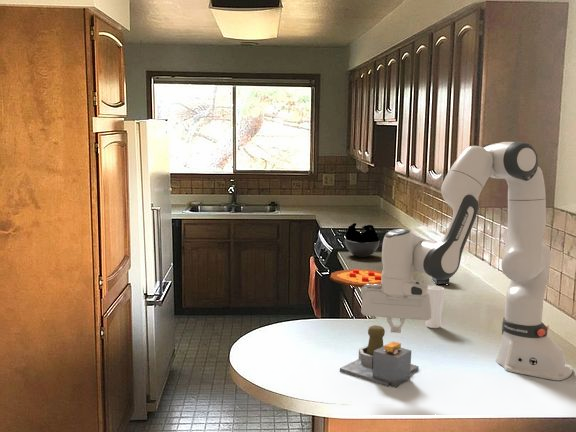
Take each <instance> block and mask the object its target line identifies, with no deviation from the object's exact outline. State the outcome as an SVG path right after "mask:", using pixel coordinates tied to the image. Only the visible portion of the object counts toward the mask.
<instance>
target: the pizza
mask: <svg viewBox="0 0 576 432" xmlns="http://www.w3.org/2000/svg"><path fill="white" fill-rule="evenodd" d="M381 279H382V271H381V270H374V269H361V268H360V269H359V268H353V269H349V268H348V269H344V270H338V271H335V270H334V272H331V274H330V281H333V282H335V283H338V284H342V285H345V286H351V287H357V288H358V287H361V288H362V287H363V286H364V285H366V284H380V285H381Z"/></svg>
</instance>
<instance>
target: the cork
mask: <svg viewBox="0 0 576 432" xmlns="http://www.w3.org/2000/svg"><path fill="white" fill-rule="evenodd" d="M385 333H386V331H385V328H384V327H383V326H381V325H377V324H374V325H371V326H369V327H368V328H367V334H368V336H369V338H368V343H367V346H368V349H367V354H369V355H372V356H373V354H374V350H376V349H379V348H381V347H383V346H384V339H383V338H384V337H385Z"/></svg>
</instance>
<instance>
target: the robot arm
mask: <svg viewBox="0 0 576 432" xmlns="http://www.w3.org/2000/svg"><path fill="white" fill-rule="evenodd" d="M492 178H493V179H499V180H500V179H501V180H505V181H506V183H507V230H506V237H505V244H504V252H503V257H502V260H501V270H502V272H503V274H504V276H506V277H507V278H508V279H509V280H510V283H509V286H508V289H507V291H506V295H505V307H504V317H503V320H502V322H501V323H502V324H501V334H502V337H501V343H500V347H499V350H498V353H497V355H496V358H495V361H496V362H497V363H498V364H499V365H500V366H502V367H503V368H504V370H505V371H507V372H510V373H516V374H522V375H527V376H531V377H536V378H540V379H541V378H542V379H547V380H552V381H562V380H566V379H567V378H569V377H571V375H573V367H572V366H571V365H570V364H566V358H565V353H564V350H563V349H562V348H561V347H560V346H559V345H558V344H557V343H556V342H555V341H553V340H552V338H550V336H548V330H549V328H550V325H545V324H544V322H542V320H543V308H544V300H545V299H544V298H545V293H546V289H547V285H548V281H549V275H550V268H551V265H552V261H553V253H552V250H551V248H550V247H549V245H547V244H545V243H543V240H544V234H545V230H546V227H547V207H546V206H547V204H546V203H547V201H546V200H547V199H546V197H547V196H546V194H547V193H546V184H545V178H544V173H543V170H542V169H541V168H540V166H539V158H538V153H537V151H536V149H535V147H534V146H532V145H531V144H530V143H528V142H523V141H501V142H498V143H497V142H496V143H488V144H484V145H483V146H479V145H469V146H467V147H466V148H465V149H464V150H462V152H461V153H460V155H459V156H458V157H457V159H456V160H454V163H453V164H452V165H451V167H450V168H449V170H448V171H447V174H446V175H445V177H444V180H443V181H442V184H441V187H440V192H441V196H442V198H443V201H444V202H445V203H446V204H447V205H448V206H449V207H450V208H451V209H452V217H451V220H450V223H449V225H448V227H447V230H446V232H445V235H444V237H443V239H441V241H439V242H437V241H433V240H430V239H426V238H423V237H421V236H418V235H416V234H415V233H413V232H412V231H411V230H410V229H407V228H397V229H396V228H395V229H392V230H390V231H388V232H386V233H385V235H384V237H383V240H382V246H381V247H382V248H381V263H382V271H381V272H382V279H381V285H380V284H366V285H364V286H363V287H361V288H360V296H361V298H362V301H361V307H360V308H361V309H360V312H361V314H362V315H363V316H366V317H377V318H379V317H380V318H386V322H387V324H388V325H389V327H390V333H398V334H402V327H403V326H404V324H405V322H406V320H407V319H408V320H417V321H418V320H419V321H426V320H430V319H431V317H432V304H431V298H430V295H429V294H428V293H427V292H428V286H429V285H428V284H427V283H426V282H425V283H424V282H422V281H419V280H416V279H414V278H413V277H414V276H413V273H414V272H419V273H421V274H424V275H427V276H430V277H431V278H432V277H433V278H435V279H437V280H446V279H449V280H450V279H451V278H452V277H453V276H454V275H456V273H457V272H458V269H459V267H460V265H461V260H462V255H463V251H464V248H465V245H466V243H467V241H468V238H469V236H470V233H471V231H472V228H473V226H474V223H475V222H476V218H477V215H478V212H479V201H478V200H479V197H480V194H481V192H482V191H483V188H484V187H485V185H486V183H487V181H488V179H492ZM393 319H399V322H400V323H399V324H398V325H397V324H394V323H393Z"/></svg>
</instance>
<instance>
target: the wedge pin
mask: <svg viewBox="0 0 576 432" xmlns="http://www.w3.org/2000/svg"><path fill="white" fill-rule="evenodd" d="M384 346H385V350H386V351H387V352H390V353H393V354H396V353H398V349H400V348H402V343H401V342H397V341H394V340H393V341H391V342H388V343H387V344H385V345H384Z"/></svg>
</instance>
